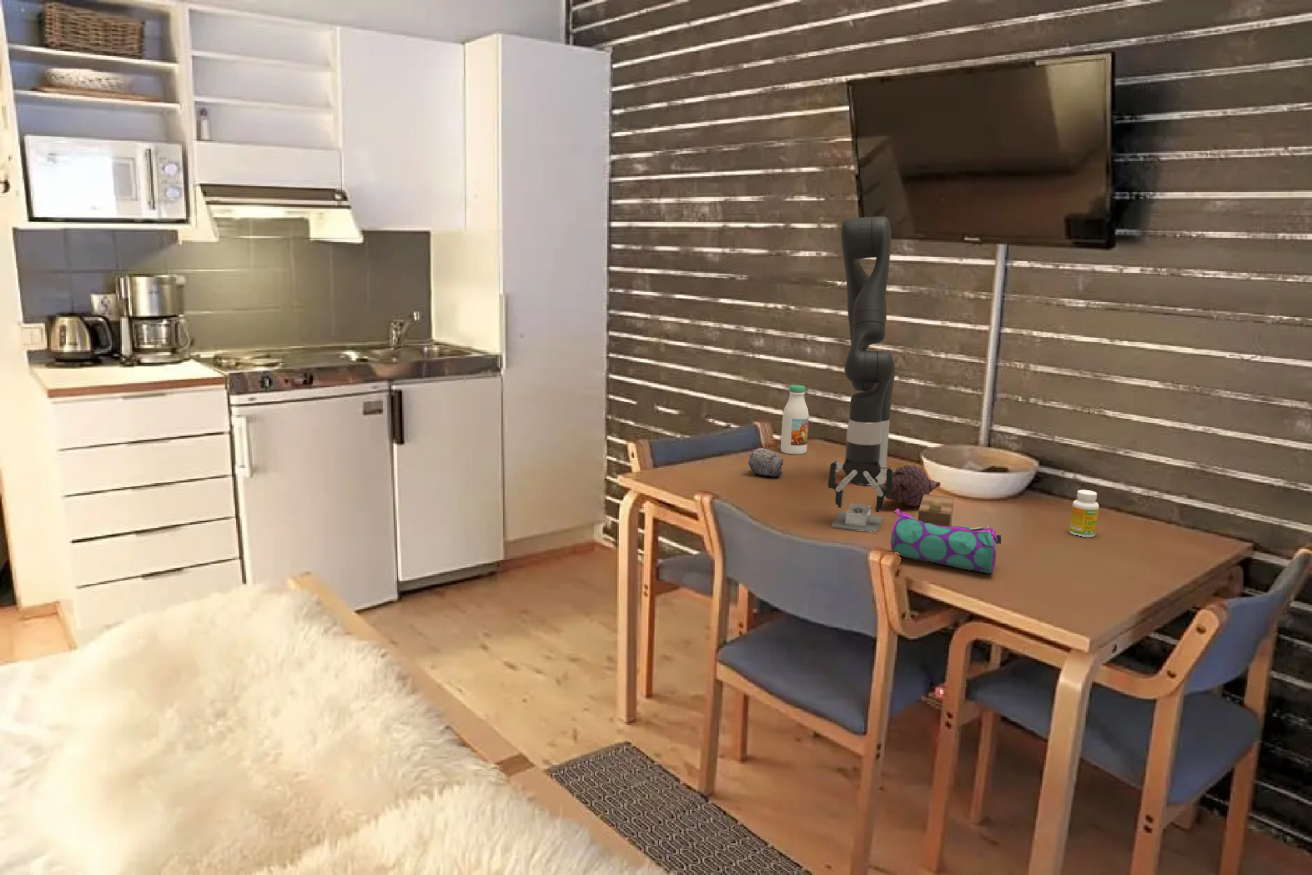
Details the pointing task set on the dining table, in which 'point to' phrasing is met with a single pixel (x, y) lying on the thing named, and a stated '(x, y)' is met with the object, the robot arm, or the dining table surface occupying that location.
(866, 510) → the lever cap
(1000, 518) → the dining table surface
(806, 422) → the milk bottle
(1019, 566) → the dining table surface
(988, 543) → the pencil case
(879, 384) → the robot arm
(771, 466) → the pumice stone
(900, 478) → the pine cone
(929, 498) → the body
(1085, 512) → the supplement bottle
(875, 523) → the mat
